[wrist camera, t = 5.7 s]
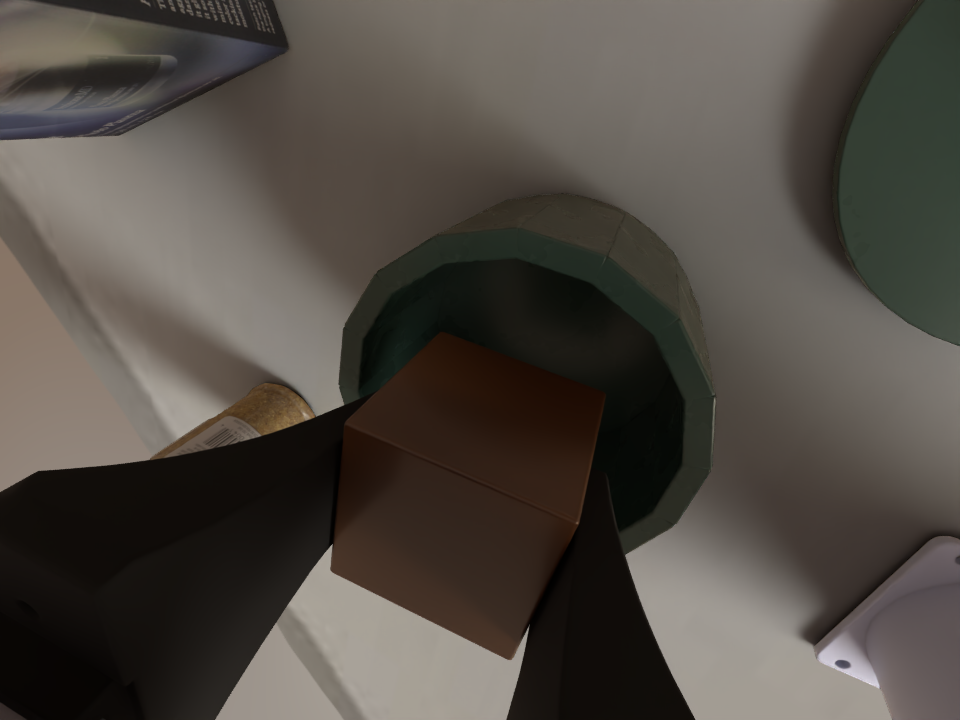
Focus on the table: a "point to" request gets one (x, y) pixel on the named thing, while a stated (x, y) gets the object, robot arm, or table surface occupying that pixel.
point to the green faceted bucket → (563, 334)
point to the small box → (121, 60)
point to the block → (465, 488)
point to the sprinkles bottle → (244, 420)
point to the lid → (907, 172)
